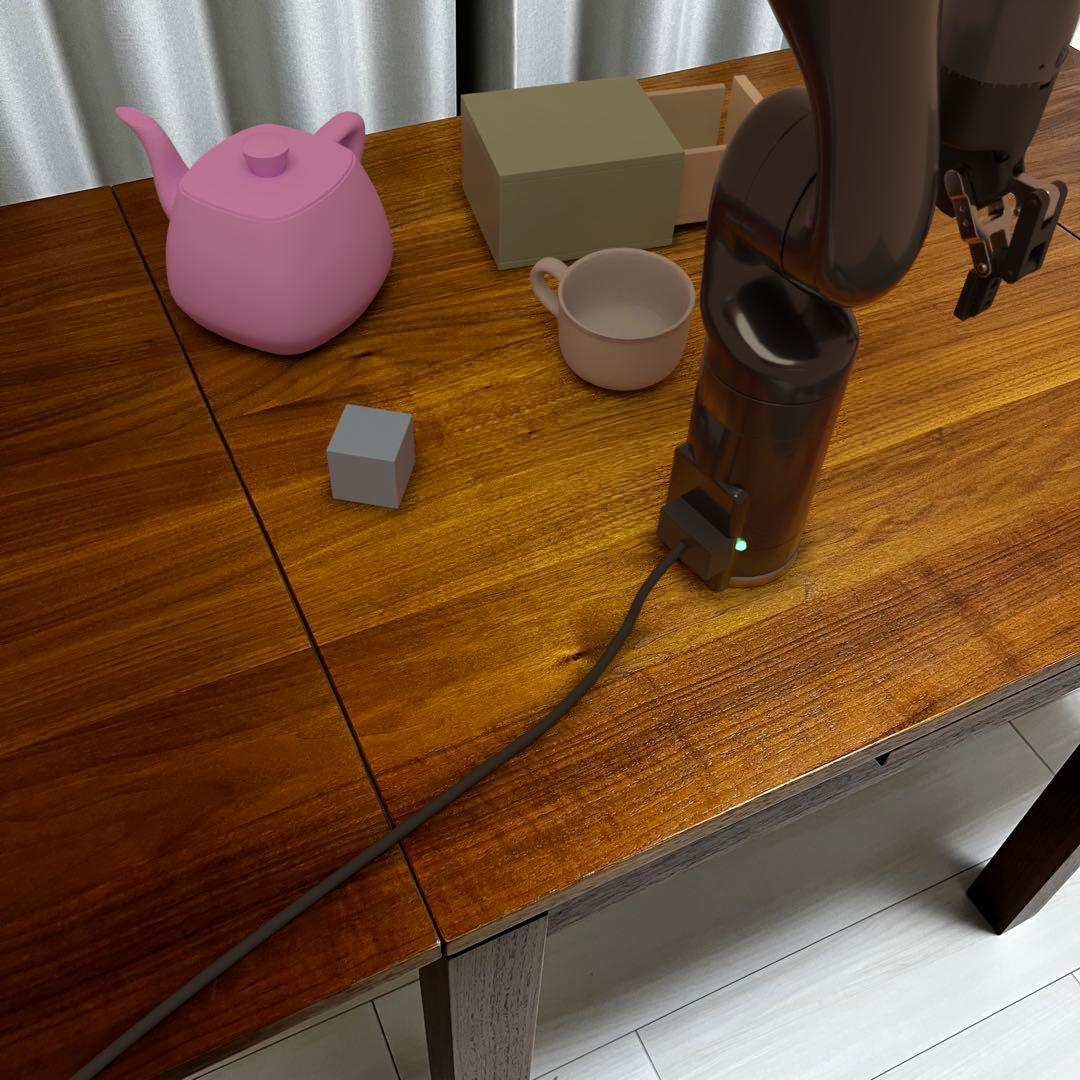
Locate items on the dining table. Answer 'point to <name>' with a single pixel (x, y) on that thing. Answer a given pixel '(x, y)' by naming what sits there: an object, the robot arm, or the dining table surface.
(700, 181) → the drawer
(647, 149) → the cabinet
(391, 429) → the block
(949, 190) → the robot arm
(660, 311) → the teacup
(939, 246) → the dining table surface
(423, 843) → the dining table surface
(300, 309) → the teapot
